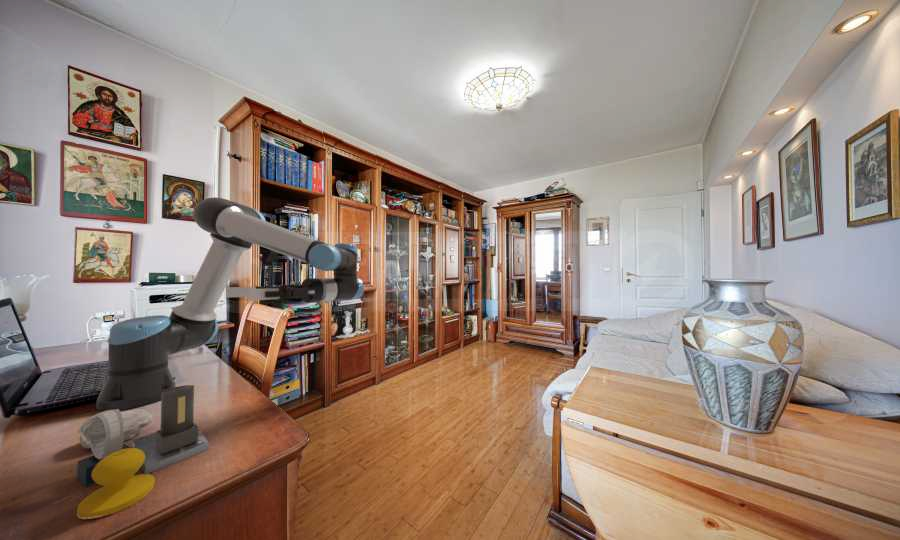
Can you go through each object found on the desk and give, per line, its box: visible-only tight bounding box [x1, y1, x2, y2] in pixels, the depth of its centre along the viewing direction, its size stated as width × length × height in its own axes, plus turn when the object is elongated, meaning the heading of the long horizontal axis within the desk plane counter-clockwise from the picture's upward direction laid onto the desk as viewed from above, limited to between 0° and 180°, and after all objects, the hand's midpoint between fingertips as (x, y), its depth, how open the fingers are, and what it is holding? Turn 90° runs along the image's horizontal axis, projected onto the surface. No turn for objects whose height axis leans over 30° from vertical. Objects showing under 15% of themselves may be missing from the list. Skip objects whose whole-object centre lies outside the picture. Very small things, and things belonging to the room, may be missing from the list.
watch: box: [76, 409, 131, 487], centre depth 50 cm, size 6×8×11 cm
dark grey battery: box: [155, 384, 199, 454], centre depth 56 cm, size 6×5×11 cm
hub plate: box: [131, 429, 210, 475], centre depth 57 cm, size 14×9×4 cm, turn 56°
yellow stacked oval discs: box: [76, 447, 156, 518], centre depth 44 cm, size 8×8×8 cm
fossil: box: [79, 408, 155, 449], centre depth 60 cm, size 9×6×10 cm
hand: (236, 293), depth 68 cm, fingers open, 13 cm apart
